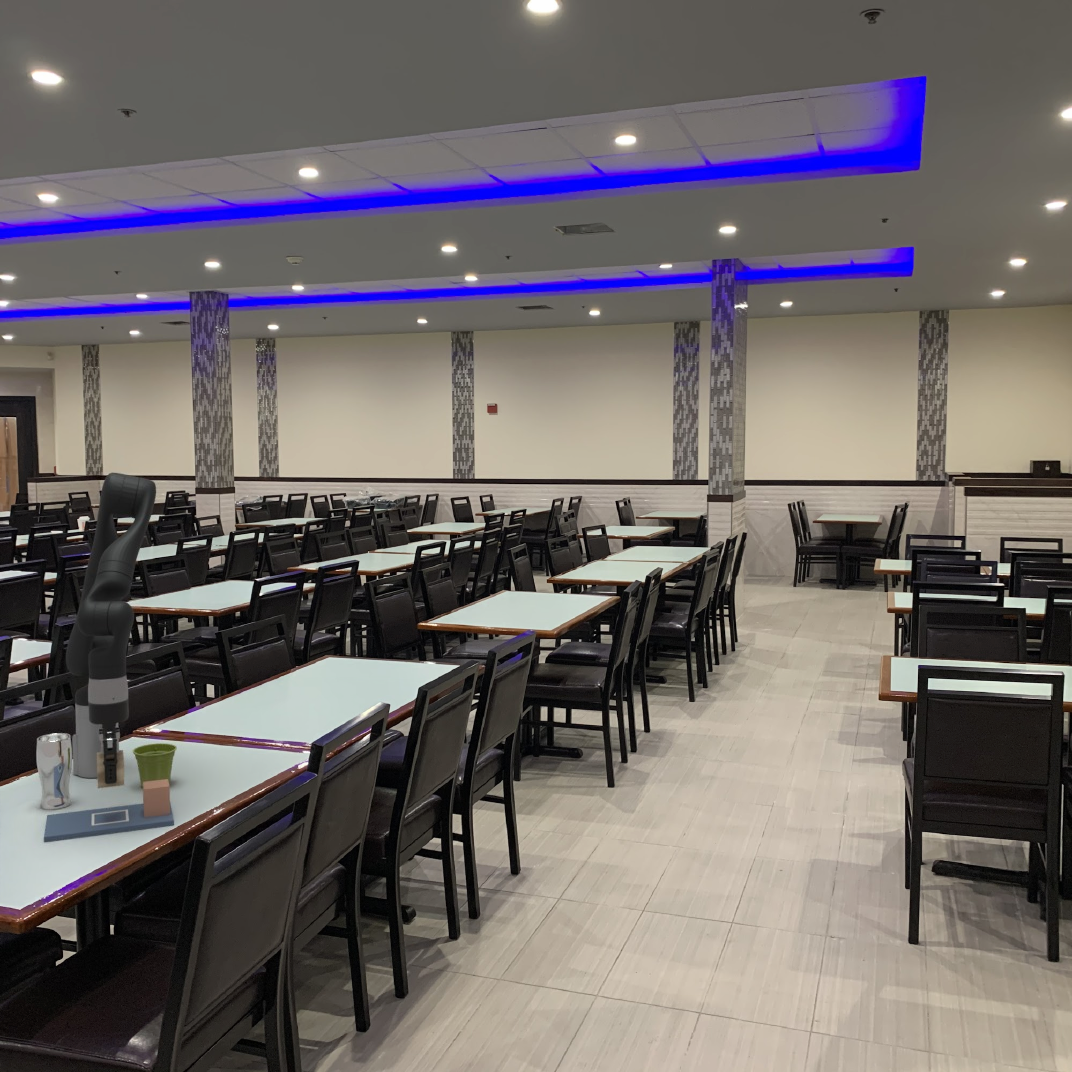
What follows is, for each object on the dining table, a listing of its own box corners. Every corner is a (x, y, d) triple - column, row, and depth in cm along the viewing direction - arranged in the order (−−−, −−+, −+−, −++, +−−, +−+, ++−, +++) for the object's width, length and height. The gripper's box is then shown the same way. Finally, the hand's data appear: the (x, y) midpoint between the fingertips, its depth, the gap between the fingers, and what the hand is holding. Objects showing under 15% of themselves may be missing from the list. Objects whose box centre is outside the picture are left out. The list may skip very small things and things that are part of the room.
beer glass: (50, 813, 211) (48, 743, 209) (31, 806, 214) (29, 738, 213) (80, 803, 216) (78, 736, 215) (61, 797, 220) (59, 731, 219)
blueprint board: (44, 842, 195) (43, 836, 195) (47, 819, 207) (47, 814, 207) (173, 825, 204) (173, 819, 204) (169, 804, 216) (169, 799, 216)
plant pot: (142, 778, 233) (142, 742, 232) (183, 779, 233) (182, 743, 233) (126, 792, 224) (126, 754, 223) (168, 792, 224) (168, 755, 223)
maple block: (97, 788, 202) (96, 759, 201) (97, 781, 206) (96, 752, 206) (124, 785, 204) (123, 756, 203) (123, 777, 208) (122, 749, 208)
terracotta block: (144, 817, 206) (143, 789, 205) (143, 809, 210) (142, 781, 210) (170, 814, 208) (169, 786, 207) (168, 806, 212) (168, 779, 212)
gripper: (129, 704, 199) (131, 787, 200) (127, 688, 212) (129, 767, 213) (88, 707, 196) (90, 792, 197) (88, 692, 209) (90, 771, 210)
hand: (110, 778), depth 205 cm, fingers closed on maple block, 5 cm apart
